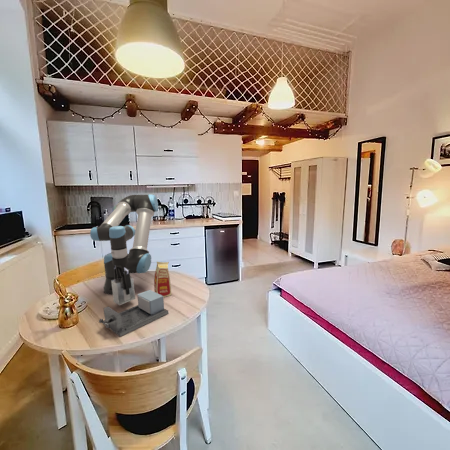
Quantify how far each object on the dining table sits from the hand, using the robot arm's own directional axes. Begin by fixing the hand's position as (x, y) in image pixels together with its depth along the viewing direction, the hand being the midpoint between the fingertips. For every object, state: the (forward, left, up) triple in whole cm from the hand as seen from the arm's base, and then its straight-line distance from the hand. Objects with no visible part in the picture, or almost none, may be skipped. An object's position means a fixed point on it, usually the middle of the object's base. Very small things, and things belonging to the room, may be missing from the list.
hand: (124, 297), depth 136 cm
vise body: (+17, -5, -4) cm, 19 cm away
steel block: (0, 0, -1) cm, 1 cm away
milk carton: (+4, +21, -4) cm, 22 cm away
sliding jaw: (+17, +5, -2) cm, 18 cm away
